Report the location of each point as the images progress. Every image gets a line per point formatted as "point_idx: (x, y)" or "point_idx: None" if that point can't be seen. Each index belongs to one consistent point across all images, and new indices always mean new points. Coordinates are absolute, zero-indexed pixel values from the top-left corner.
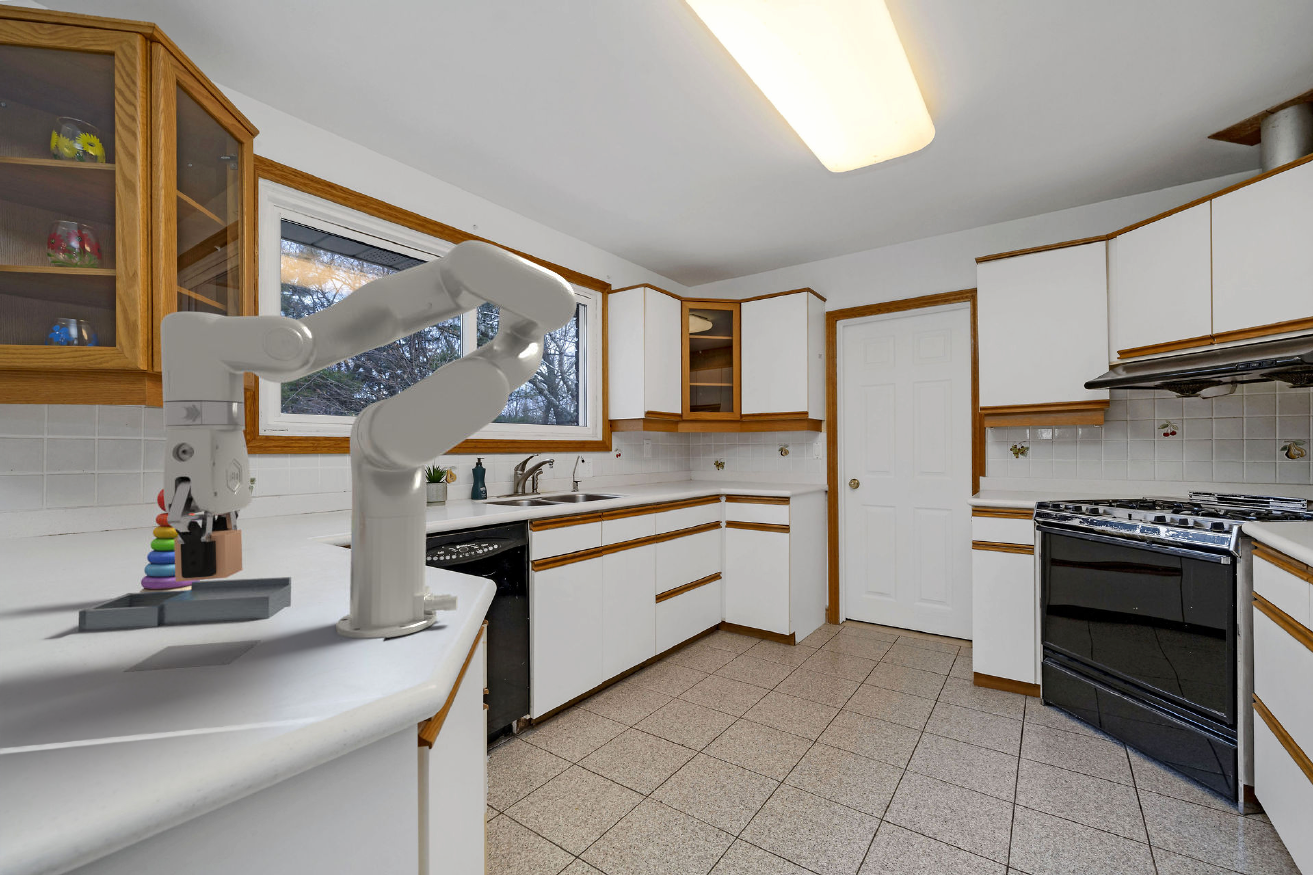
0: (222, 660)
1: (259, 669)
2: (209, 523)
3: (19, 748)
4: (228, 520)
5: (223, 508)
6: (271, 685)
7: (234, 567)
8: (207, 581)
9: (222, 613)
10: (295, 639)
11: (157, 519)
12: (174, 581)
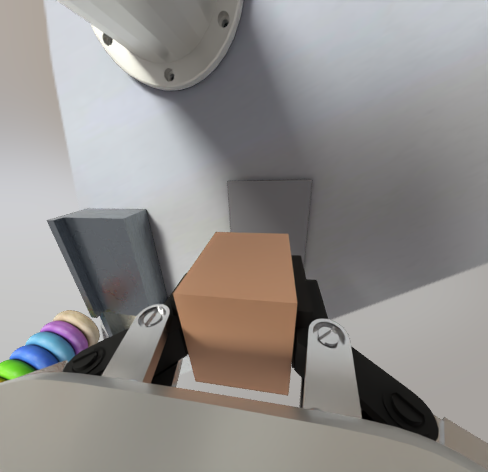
0: (297, 193)
1: (333, 135)
2: (331, 387)
3: (472, 264)
4: (158, 355)
5: (382, 464)
6: (412, 84)
7: (248, 238)
8: (90, 305)
9: (149, 258)
10: (219, 140)
11: None
12: (74, 335)
